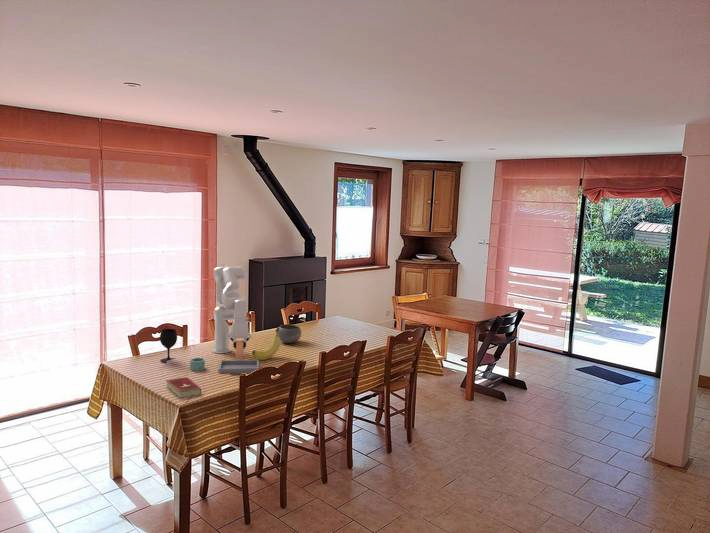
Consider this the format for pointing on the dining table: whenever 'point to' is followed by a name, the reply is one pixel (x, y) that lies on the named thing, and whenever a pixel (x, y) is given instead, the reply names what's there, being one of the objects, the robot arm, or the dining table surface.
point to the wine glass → (168, 341)
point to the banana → (268, 349)
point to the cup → (197, 364)
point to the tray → (238, 366)
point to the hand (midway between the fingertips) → (239, 347)
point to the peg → (239, 349)
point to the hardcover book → (183, 387)
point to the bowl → (289, 333)
